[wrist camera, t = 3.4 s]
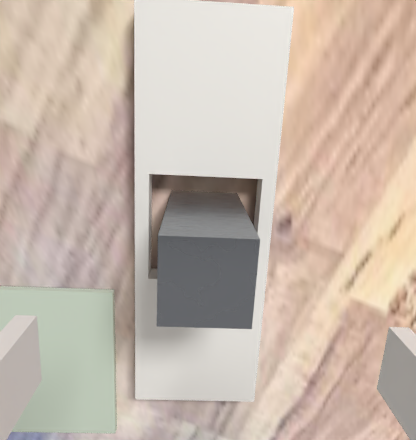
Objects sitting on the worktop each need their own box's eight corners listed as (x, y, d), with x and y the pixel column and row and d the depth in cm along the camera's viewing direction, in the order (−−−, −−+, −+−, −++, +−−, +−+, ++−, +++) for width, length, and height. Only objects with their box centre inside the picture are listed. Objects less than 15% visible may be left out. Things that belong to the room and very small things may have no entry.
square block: (170, 251, 30) (156, 326, 20) (171, 190, 29) (157, 235, 18) (232, 253, 31) (251, 329, 20) (236, 192, 29) (260, 239, 19)
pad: (-40, 425, 34) (-44, 430, 34) (-62, 284, 30) (-67, 287, 30) (116, 428, 35) (115, 433, 34) (114, 289, 31) (112, 293, 31)
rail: (138, 382, 34) (135, 399, 32) (138, 5, 25) (134, -4, 23) (250, 385, 34) (254, 401, 32) (286, 14, 26) (294, 6, 24)
